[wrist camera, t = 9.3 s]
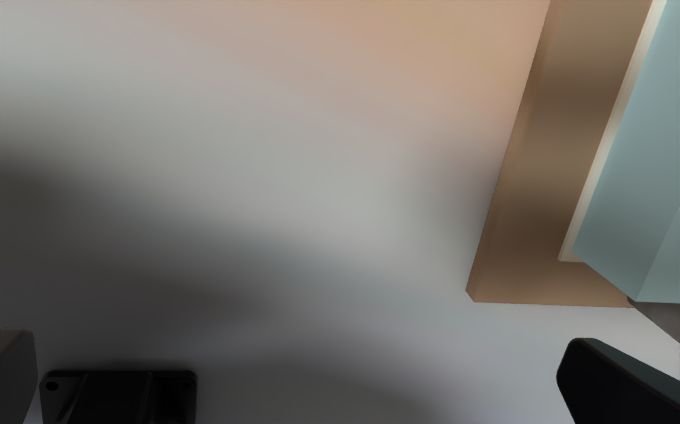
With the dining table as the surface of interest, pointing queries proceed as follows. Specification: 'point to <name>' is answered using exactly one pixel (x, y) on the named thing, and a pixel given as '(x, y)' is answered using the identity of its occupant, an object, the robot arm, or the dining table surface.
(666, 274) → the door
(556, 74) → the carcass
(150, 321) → the dining table surface
